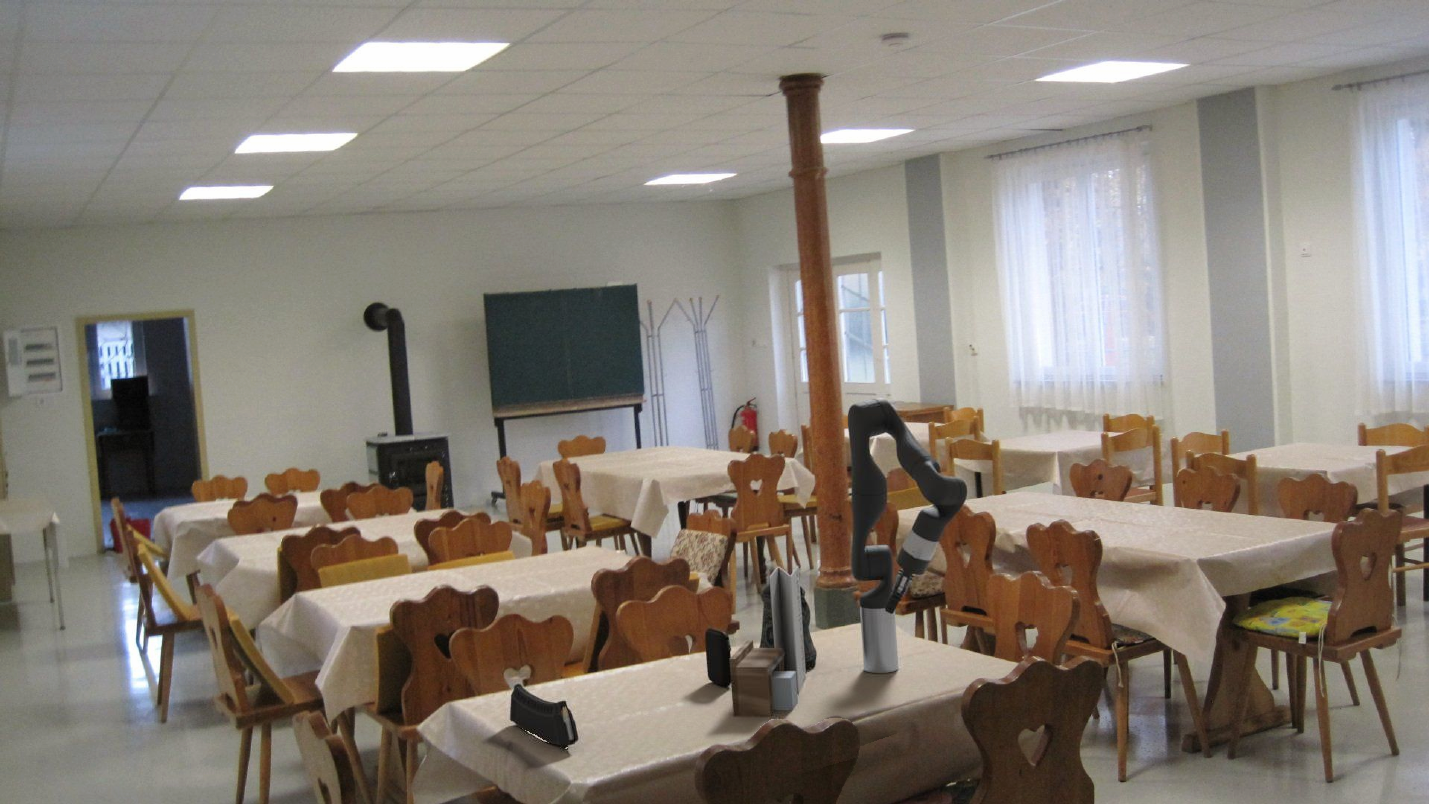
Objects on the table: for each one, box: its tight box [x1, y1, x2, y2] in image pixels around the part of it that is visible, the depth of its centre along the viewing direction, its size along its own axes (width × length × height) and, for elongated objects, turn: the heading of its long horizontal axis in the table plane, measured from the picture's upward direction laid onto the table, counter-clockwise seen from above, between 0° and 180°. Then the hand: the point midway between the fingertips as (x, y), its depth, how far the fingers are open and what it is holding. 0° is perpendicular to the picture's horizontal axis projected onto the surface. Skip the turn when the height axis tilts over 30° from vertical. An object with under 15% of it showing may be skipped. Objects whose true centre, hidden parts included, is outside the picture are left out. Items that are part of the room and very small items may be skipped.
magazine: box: [509, 683, 579, 749], centre depth 290 cm, size 17×3×30 cm
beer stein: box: [758, 583, 818, 671], centre depth 337 cm, size 16×19×25 cm
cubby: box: [729, 639, 785, 718], centre depth 303 cm, size 18×10×14 cm, turn 165°
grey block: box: [771, 671, 799, 711], centre depth 302 cm, size 6×12×8 cm, turn 75°
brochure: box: [769, 565, 807, 695], centre depth 318 cm, size 14×6×30 cm, turn 168°
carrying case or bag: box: [704, 627, 732, 688], centre depth 323 cm, size 11×3×15 cm, turn 33°
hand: (888, 611), depth 298 cm, fingers closed
